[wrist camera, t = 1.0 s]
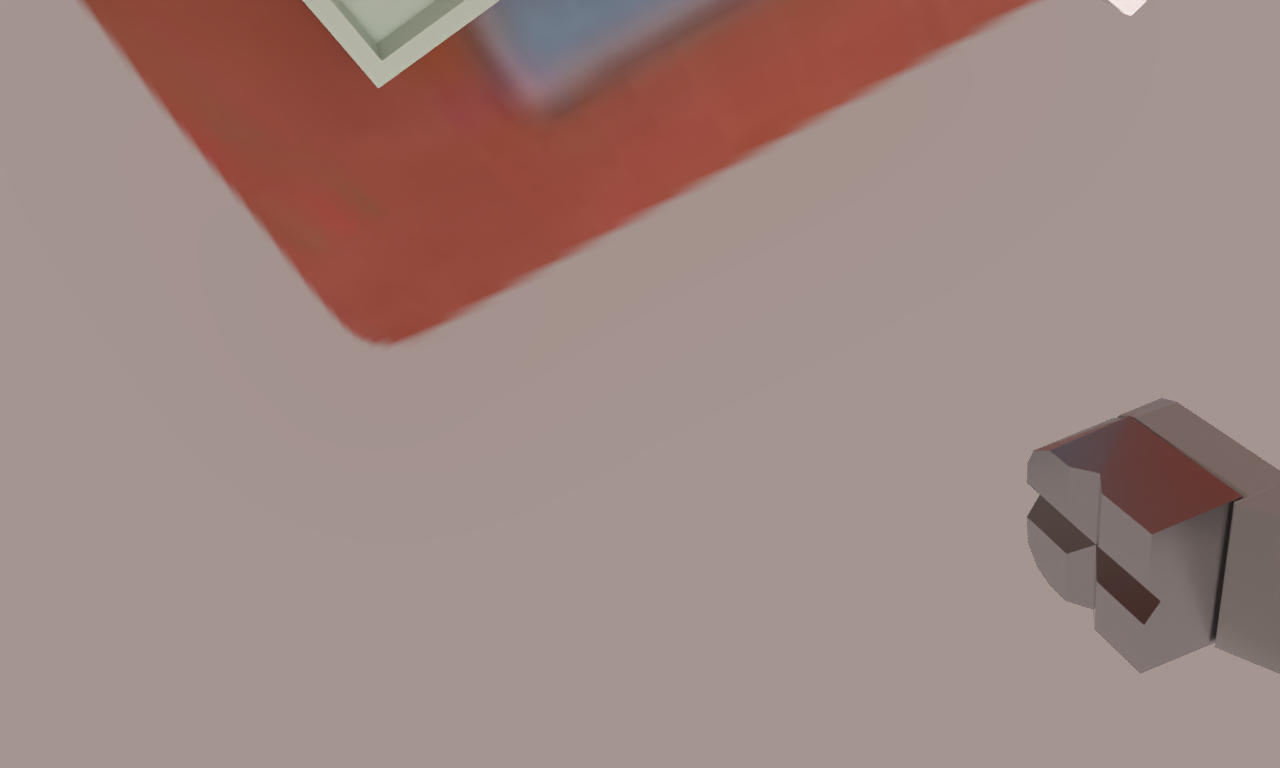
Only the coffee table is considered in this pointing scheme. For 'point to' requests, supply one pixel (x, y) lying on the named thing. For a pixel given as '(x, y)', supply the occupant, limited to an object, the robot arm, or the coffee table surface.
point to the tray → (393, 29)
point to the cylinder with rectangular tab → (1126, 5)
